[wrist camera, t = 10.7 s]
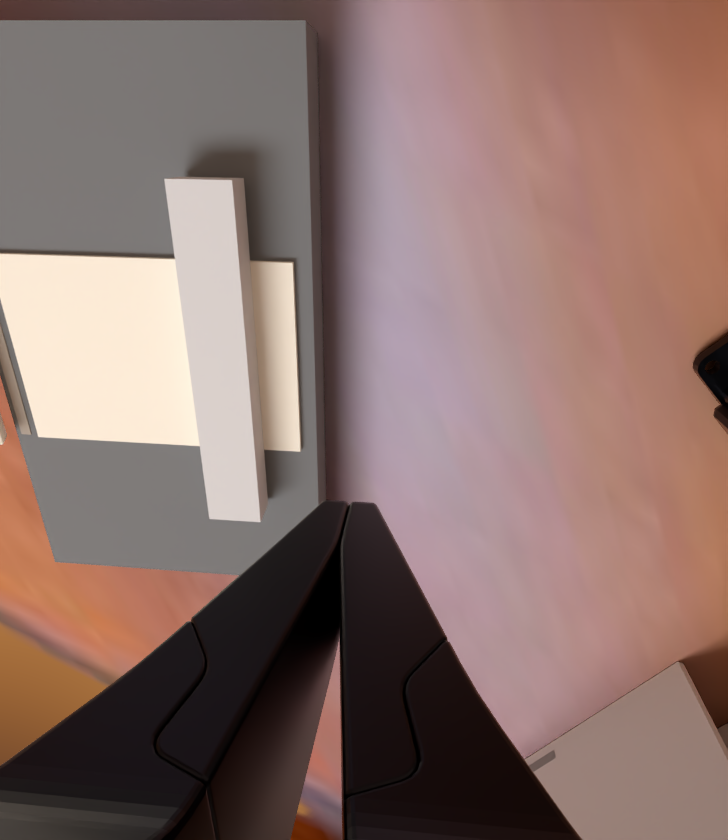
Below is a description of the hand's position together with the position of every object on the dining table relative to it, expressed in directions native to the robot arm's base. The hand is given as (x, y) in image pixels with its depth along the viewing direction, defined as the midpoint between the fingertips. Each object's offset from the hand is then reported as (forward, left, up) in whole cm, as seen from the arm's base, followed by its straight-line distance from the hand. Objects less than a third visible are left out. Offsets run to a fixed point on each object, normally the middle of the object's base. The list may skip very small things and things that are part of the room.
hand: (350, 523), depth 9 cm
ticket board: (+7, -5, -13) cm, 16 cm away
